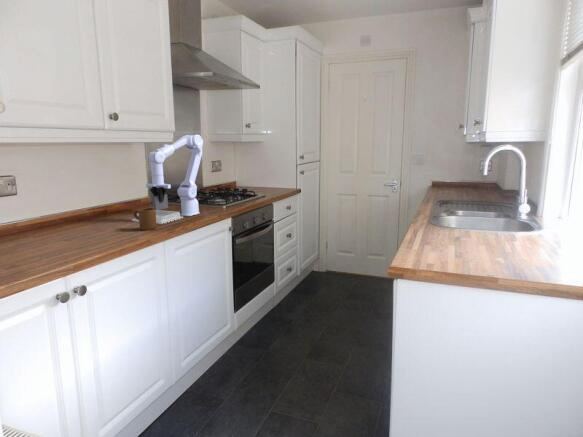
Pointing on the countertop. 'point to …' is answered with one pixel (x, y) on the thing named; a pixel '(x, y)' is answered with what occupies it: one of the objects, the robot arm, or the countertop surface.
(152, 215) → the mug
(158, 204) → the panel
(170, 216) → the rack
